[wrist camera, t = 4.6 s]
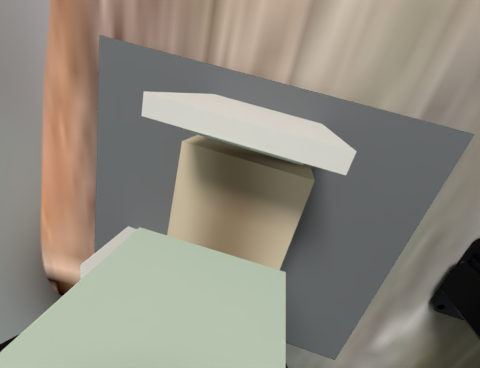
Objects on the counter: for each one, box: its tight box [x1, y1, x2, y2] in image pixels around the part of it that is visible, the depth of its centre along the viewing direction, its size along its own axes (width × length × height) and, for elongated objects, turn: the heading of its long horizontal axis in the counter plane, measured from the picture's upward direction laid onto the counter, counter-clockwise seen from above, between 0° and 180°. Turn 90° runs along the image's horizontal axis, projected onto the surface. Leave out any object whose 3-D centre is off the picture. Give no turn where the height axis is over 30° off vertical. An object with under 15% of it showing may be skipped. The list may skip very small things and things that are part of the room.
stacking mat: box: [95, 35, 474, 360], centre depth 15 cm, size 23×20×9 cm
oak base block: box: [167, 135, 315, 270], centre depth 15 cm, size 7×7×4 cm
